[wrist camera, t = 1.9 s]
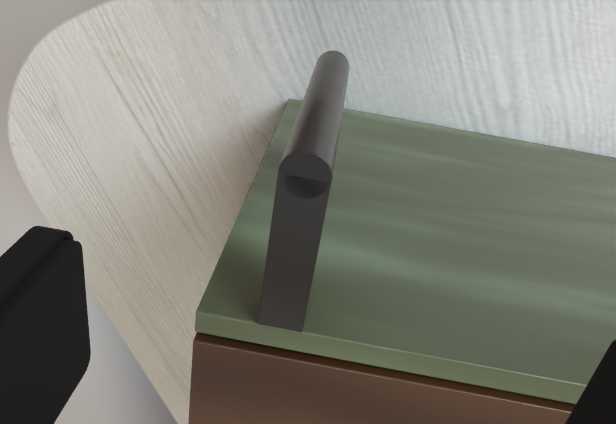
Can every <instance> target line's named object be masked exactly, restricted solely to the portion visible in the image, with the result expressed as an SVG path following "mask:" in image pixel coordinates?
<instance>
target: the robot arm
mask: <svg viewBox="0 0 616 424" xmlns="http://www.w3.org/2000/svg"><path fill="white" fill-rule="evenodd" d="M89 361H90V339H89V326H88V315H87V303H86V290H85V278H84V265H83V253H82V246H81V244H80V242H78V241H74V240H73V236H72V234H71V233H70V232H68V231H64V230H58V229H53V228H47V227H41V226H35V227H32V228H31V229H30V230H28V231H27V232H26V233H25V234H24V235H23V236H22V237H21V238H20V239H19V240H18V241H17V242H16V243H15V244H14V245H13V246H12V247H10V248H9V249H8V250H7V251H6V252H5V253H4V254H3V255H2V256H1V257H0V424H54V422H55V421H56V419H57V417H58V416H59V414H60V413H61V411H62V409H63V408H64V405H65V404H66V403H67V401H68V400H69V398H70V396H71V395H72V393H73V391H74V390H75V388H76V387H77V385H78V383H79V382H80V380H81V379H82V377H83V375H84V374H85V372H86V370H87V367H88V364H89ZM565 424H616V340H614V341H613V342H612V343H611V344H610V346H609V348H608V349H607V351H606V353H605V355H604V356H603V358H602V360H601V362H600V363H599V365H598V367H597V369H596V370H595V372H594V374H593V375H592V377H591V379H590V381H589V382H588V384H587V386H586V388H585V389H584V391H583V393H582V395H581V396H580V398H579V400H578V402H577V403H576V405H575V407H574V409H573V410H572V412H571V414H570V416H569V417H568V419H567V421H566V423H565Z"/></svg>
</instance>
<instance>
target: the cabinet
mask: <svg viewBox="0 0 616 424" xmlns="http://www.w3.org/2000/svg"><path fill="white" fill-rule="evenodd" d="M575 405H576V404H572V403H567V402H562V401H556V400H551V399H546V398H541V397H535V396H530V395H525V394H520V393H514V392H509V391H504V390H499V389H493V388H488V387H483V386H477V385H472V384H467V383H462V382H456V381H451V380H446V379H441V378H435V377H430V376H425V375H420V374H414V373H409V372H404V371H399V370H393V369H388V368H383V367H378V366H372V365H367V364H362V363H357V362H351V361H346V360H341V359H336V358H330V357H325V356H320V355H315V354H309V353H304V352H299V351H294V350H288V349H283V348H278V347H273V346H267V345H262V344H257V343H251V342H246V341H241V340H236V339H230V338H225V337H220V336H215V335H209V334H204V333H199V332H197V333H196V336H195V338H194V340H193V356H192V374H191V391H190V408H189V424H565V423H566V421H567V419H568V417H569V416H570V414H571V412H572V410H573V409H574V407H575Z"/></svg>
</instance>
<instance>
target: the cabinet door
mask: <svg viewBox="0 0 616 424" xmlns="http://www.w3.org/2000/svg"><path fill="white" fill-rule="evenodd" d="M348 74H349V62H348V60H347V58H346V57H345V56H344V55H343V54H342V53H340V52H338V51H328V52H325V53H324V54H322V55H321V56H320V57H319V59H318V61H317V63H316V66H315V69H314V72H313V74H312V77H311V80H310V83H309V85H308V88H307V91H306V94H305V97H304V99H303V101H298V100H293V99H289V100H288V102H287V105H286V107H285V109H284V112H283V114H282V116H281V118H280V121H279V123H278V125H277V128H276V130H275V132H274V134H273V137H272V139H271V141H270V144H269V146H268V148H267V151H266V153H265V155H264V157H263V160H262V162H261V164H260V167H259V169H258V171H257V173H256V176H255V178H254V180H253V183H252V185H251V187H250V190H249V192H248V194H247V196H246V199H245V201H244V203H243V206H242V208H241V210H240V212H239V215H238V217H237V219H236V222H235V224H234V226H233V228H232V231H231V233H230V235H229V238H228V240H227V242H226V245H225V247H224V249H223V251H222V254H221V256H220V258H219V261H218V263H217V265H216V267H215V270H214V272H213V274H212V277H211V279H210V281H209V284H208V286H207V288H206V290H205V293H204V295H203V297H202V300H201V302H200V304H199V306H198V309H197V311H196V323H195V331H196V332H199V333H204V334H209V335H215V336H220V337H225V338H230V339H236V340H241V341H246V342H251V343H257V344H262V345H267V346H273V347H278V348H283V349H288V350H294V351H299V352H304V353H309V354H315V355H320V356H325V357H330V358H336V359H341V360H346V361H351V362H357V363H362V364H367V365H372V366H378V367H383V368H388V369H393V370H399V371H404V372H409V373H414V374H420V375H425V376H430V377H435V378H441V379H446V380H451V381H456V382H462V383H467V384H472V385H477V386H483V387H488V388H493V389H499V390H504V391H509V392H514V393H520V394H525V395H530V396H535V397H541V398H546V399H551V400H556V401H562V402H567V403H572V404H576V403H577V402H578V400H579V398H580V396H581V395H582V393H583V391H584V389H585V388H586V386H587V384H588V382H589V381H590V379H591V377H592V375H593V374H594V372H595V370H596V369H597V367H598V365H599V363H600V362H601V360H602V358H603V356H604V355H605V353H606V351H607V349H608V348H609V346H610V344H611V343H612V342H613V341H614V340H616V158H611V157H606V156H600V155H595V154H589V153H584V152H578V151H573V150H567V149H562V148H556V147H551V146H545V145H540V144H534V143H529V142H523V141H518V140H512V139H507V138H501V137H496V136H490V135H485V134H479V133H474V132H468V131H463V130H458V129H452V128H447V127H441V126H436V125H430V124H425V123H419V122H414V121H408V120H403V119H397V118H392V117H386V116H381V115H375V114H370V113H364V112H359V111H353V110H348V109H343V106H344V100H345V93H346V87H347V81H348Z"/></svg>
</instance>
